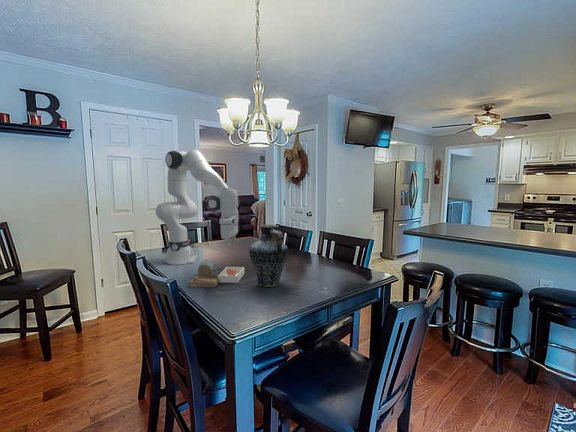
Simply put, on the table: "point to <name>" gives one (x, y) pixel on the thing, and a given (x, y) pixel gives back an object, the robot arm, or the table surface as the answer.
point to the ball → (231, 272)
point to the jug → (269, 256)
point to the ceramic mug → (206, 268)
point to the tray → (204, 281)
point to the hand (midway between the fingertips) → (230, 244)
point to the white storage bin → (231, 279)
